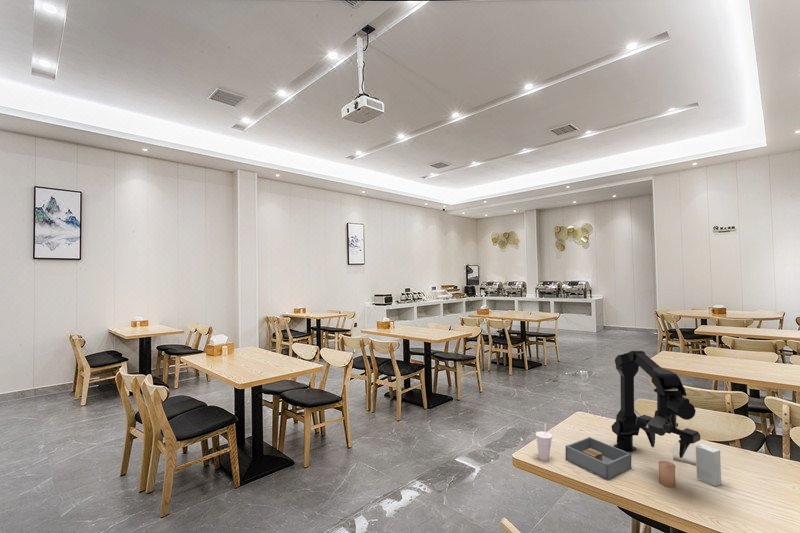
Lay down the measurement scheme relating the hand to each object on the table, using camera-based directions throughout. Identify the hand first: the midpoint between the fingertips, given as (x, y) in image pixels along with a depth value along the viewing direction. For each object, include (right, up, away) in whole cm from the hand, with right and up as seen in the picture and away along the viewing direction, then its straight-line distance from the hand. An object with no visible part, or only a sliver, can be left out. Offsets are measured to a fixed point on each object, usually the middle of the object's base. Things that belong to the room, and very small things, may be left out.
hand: (666, 452), depth 143 cm
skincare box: (+16, -11, +1) cm, 19 cm away
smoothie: (-37, -11, +19) cm, 43 cm away
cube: (-21, -11, +12) cm, 26 cm away
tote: (-18, -11, +14) cm, 25 cm away
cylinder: (0, -11, 0) cm, 11 cm away
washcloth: (+24, -11, +20) cm, 33 cm away
